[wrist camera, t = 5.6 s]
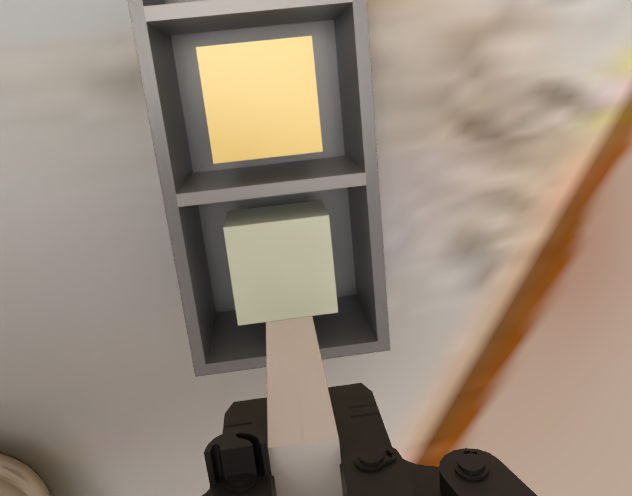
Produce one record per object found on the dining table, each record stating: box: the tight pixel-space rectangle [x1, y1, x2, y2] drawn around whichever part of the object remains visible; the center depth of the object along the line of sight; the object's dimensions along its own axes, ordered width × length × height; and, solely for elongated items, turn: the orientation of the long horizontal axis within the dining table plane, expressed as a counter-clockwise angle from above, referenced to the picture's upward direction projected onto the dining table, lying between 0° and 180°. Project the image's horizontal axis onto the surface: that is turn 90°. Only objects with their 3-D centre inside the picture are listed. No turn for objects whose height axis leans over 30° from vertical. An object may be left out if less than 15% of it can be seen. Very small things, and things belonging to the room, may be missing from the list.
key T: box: [196, 36, 323, 164], centre depth 27 cm, size 5×5×4 cm
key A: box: [223, 200, 338, 325], centre depth 29 cm, size 5×5×4 cm
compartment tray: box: [128, 0, 390, 377], centre depth 27 cm, size 10×34×7 cm, turn 6°
